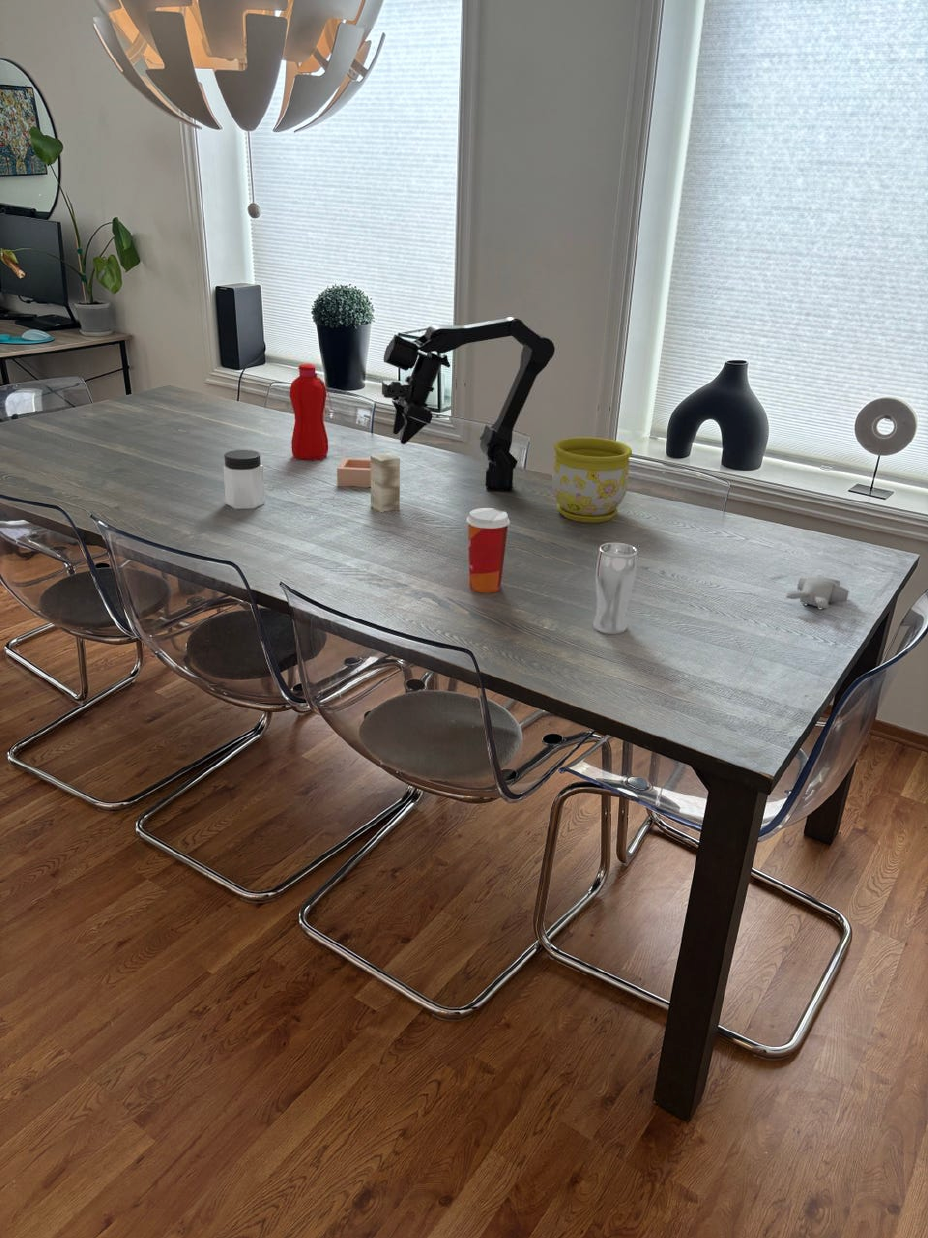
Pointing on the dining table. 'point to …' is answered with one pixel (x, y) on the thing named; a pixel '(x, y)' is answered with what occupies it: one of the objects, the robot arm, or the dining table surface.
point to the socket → (354, 472)
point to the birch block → (385, 482)
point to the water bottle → (308, 415)
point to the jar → (243, 479)
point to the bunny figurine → (819, 591)
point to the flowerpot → (590, 477)
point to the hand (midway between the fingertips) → (398, 438)
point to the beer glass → (614, 586)
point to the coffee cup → (486, 548)
